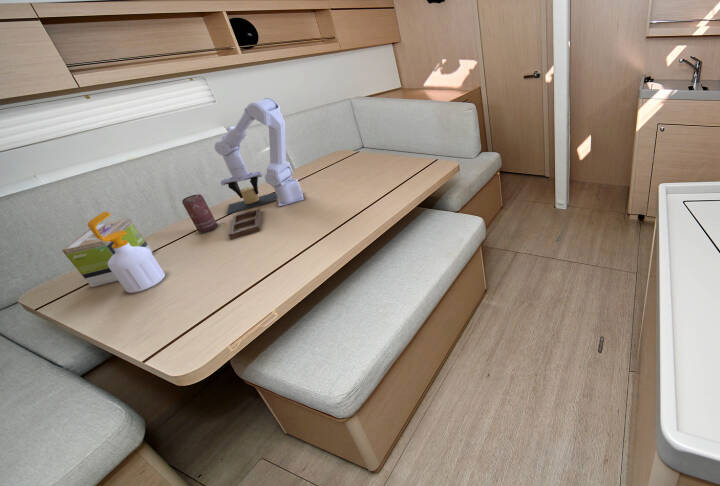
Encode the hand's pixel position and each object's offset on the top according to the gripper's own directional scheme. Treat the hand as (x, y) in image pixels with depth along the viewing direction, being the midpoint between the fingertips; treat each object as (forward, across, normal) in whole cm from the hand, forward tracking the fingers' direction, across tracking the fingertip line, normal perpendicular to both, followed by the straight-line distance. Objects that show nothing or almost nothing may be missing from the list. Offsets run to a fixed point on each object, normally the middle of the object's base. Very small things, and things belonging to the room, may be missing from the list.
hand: (249, 195), depth 153 cm
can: (+4, -13, -16) cm, 21 cm away
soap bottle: (+4, -24, -45) cm, 51 cm away
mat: (+4, 0, 0) cm, 4 cm away
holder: (+4, 0, -22) cm, 22 cm away
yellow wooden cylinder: (+3, 0, 0) cm, 3 cm away
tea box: (+4, -34, -31) cm, 46 cm away
